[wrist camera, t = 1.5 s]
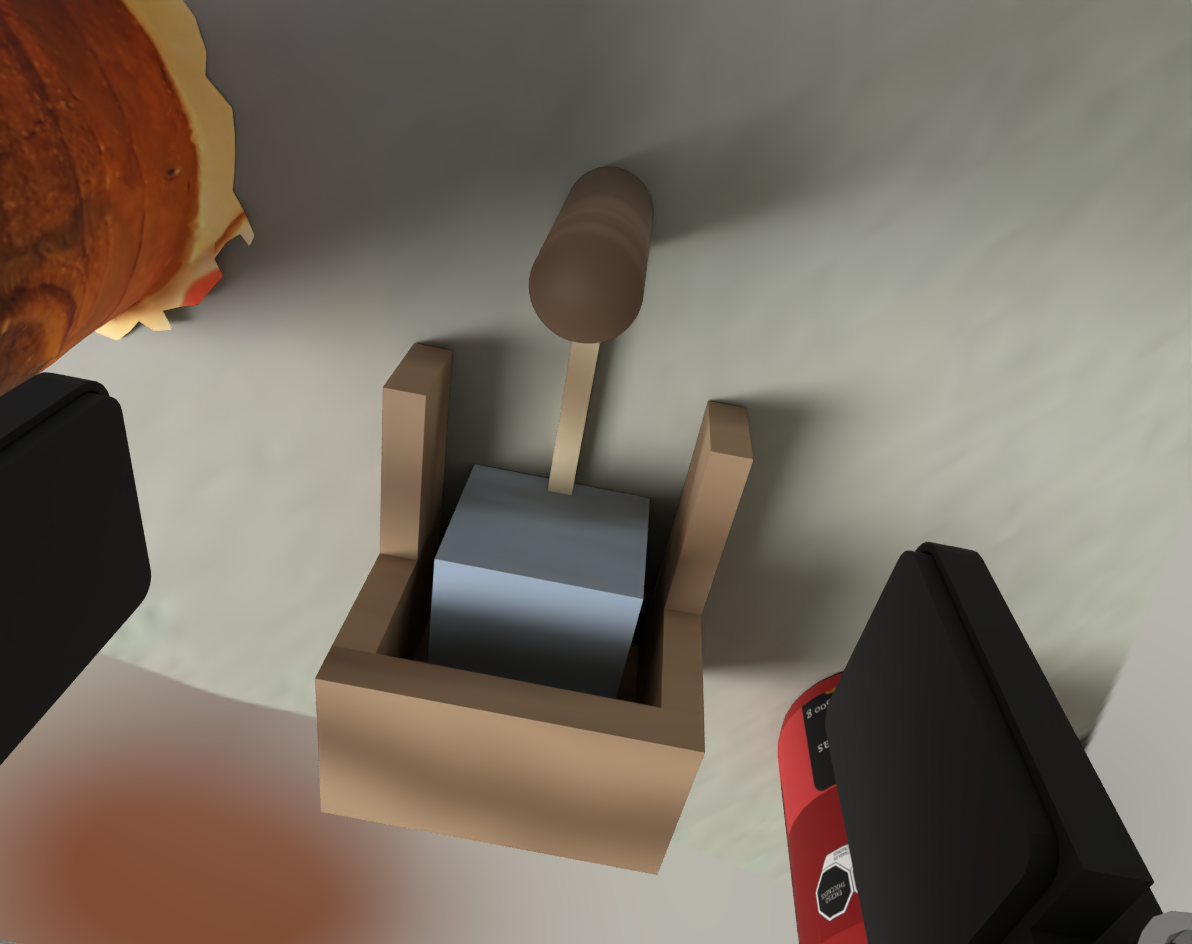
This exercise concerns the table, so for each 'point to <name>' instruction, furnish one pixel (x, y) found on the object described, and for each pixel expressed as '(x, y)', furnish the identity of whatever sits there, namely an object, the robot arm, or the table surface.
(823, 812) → the canned food
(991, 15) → the table surface
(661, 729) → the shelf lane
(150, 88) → the vessel
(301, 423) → the table surface
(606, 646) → the knob-handled block
